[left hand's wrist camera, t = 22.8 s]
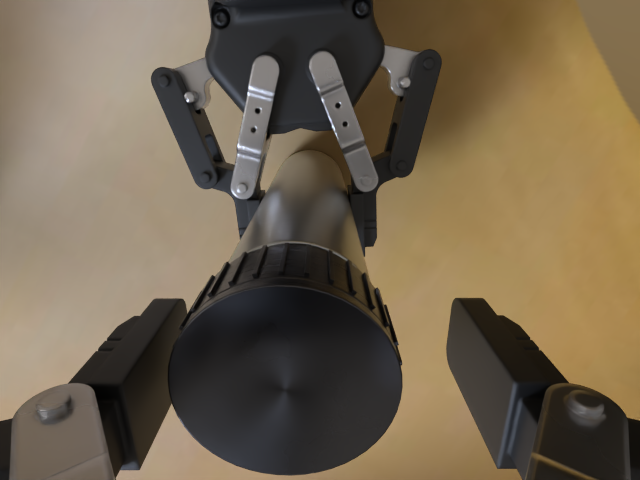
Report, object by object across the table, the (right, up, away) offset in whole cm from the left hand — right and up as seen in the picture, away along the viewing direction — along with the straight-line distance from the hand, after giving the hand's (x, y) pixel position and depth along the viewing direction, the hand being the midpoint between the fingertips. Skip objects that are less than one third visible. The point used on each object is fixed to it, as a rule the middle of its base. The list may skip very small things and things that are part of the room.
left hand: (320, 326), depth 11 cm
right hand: (0, +2, +11) cm, 12 cm away
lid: (-1, -1, -2) cm, 3 cm away
